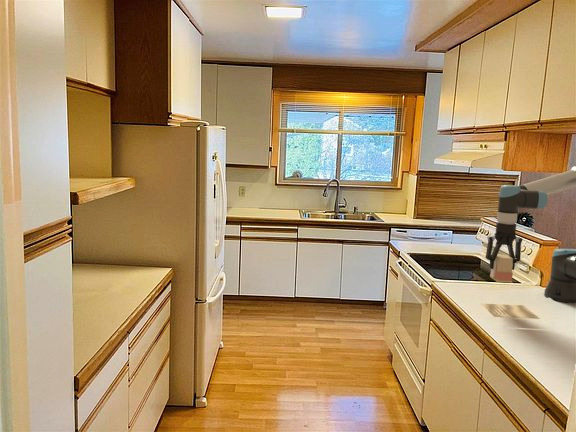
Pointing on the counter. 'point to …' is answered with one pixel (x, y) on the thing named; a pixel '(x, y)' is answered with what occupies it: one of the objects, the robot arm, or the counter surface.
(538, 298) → the counter surface
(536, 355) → the counter surface
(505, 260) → the block
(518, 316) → the board
